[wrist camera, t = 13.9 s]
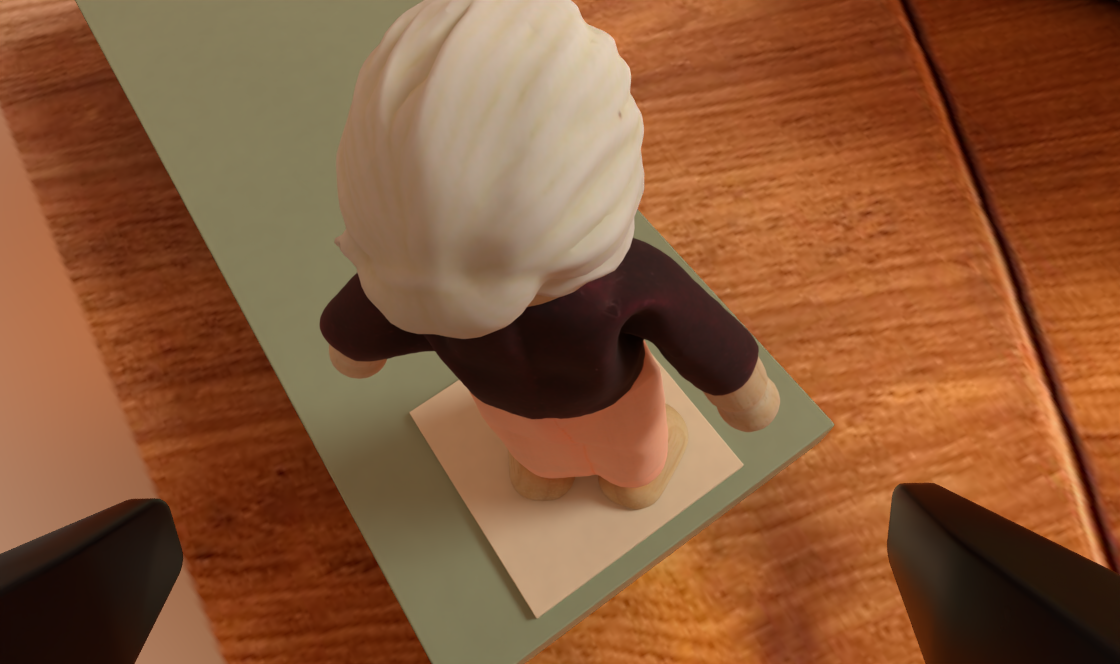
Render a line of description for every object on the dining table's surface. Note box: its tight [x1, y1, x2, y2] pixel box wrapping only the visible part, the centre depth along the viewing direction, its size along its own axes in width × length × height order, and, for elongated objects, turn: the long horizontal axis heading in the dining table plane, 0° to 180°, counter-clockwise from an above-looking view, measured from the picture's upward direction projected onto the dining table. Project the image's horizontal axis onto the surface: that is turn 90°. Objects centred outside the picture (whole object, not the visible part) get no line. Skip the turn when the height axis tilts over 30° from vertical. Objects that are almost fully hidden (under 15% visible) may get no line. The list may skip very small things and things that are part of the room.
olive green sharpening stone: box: [75, 0, 834, 664], centre depth 24 cm, size 32×11×4 cm, turn 34°
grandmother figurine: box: [319, 0, 780, 509], centre depth 12 cm, size 8×4×13 cm, turn 93°
